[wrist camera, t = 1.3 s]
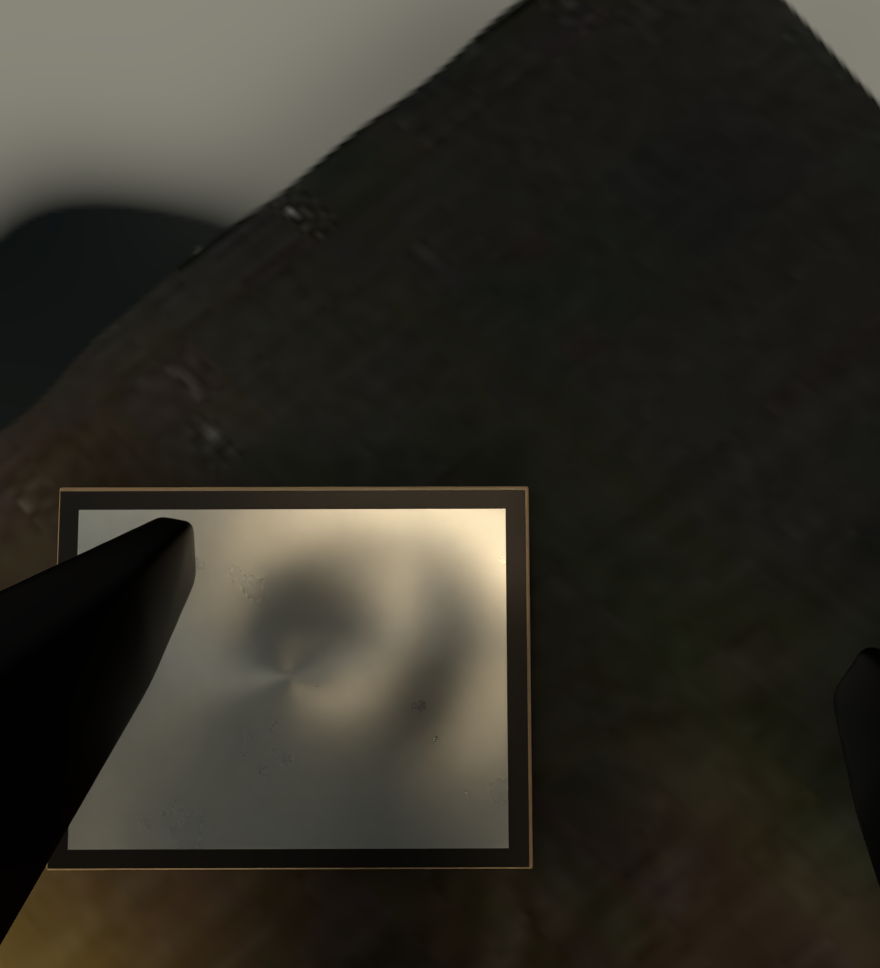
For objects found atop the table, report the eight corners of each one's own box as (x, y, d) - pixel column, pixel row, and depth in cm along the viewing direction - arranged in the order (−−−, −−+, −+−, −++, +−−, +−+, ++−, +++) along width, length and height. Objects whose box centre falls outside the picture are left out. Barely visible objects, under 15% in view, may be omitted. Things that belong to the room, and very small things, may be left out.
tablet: (530, 858, 24) (534, 873, 23) (58, 859, 24) (41, 874, 23) (526, 487, 25) (529, 485, 24) (70, 488, 25) (55, 486, 24)
